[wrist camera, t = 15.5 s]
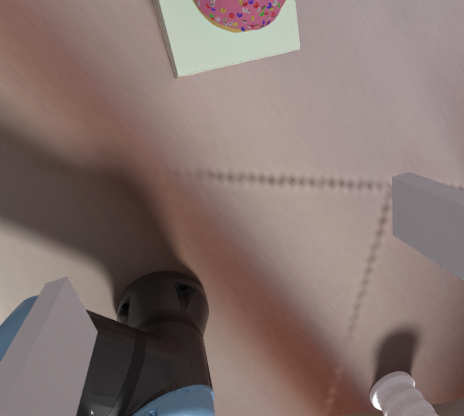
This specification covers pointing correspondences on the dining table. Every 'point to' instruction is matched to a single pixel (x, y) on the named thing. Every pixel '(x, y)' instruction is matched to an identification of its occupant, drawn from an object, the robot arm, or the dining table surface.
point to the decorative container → (399, 396)
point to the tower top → (221, 38)
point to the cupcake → (240, 13)
